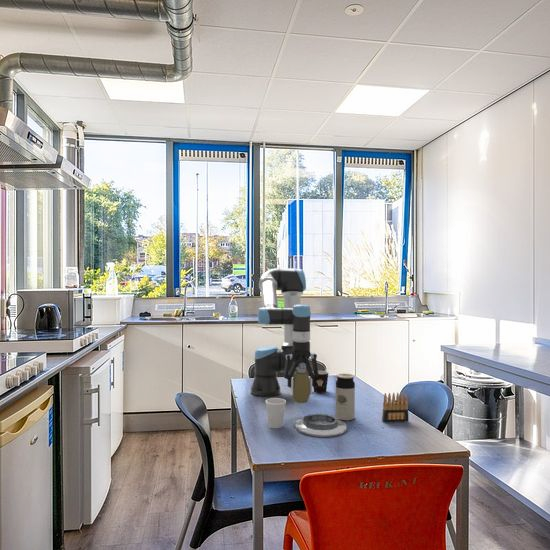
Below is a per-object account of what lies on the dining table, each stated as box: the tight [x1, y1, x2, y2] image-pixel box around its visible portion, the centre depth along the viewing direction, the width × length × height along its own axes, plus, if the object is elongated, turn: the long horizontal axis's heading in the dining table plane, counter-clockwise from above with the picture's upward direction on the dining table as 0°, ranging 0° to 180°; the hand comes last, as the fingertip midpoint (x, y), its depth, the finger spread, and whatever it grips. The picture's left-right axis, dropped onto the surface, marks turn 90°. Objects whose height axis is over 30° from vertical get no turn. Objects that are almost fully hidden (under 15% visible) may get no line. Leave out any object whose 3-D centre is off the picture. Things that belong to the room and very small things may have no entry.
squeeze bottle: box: [292, 363, 311, 404], centre depth 188 cm, size 8×8×18 cm
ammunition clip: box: [381, 392, 410, 423], centre depth 181 cm, size 11×2×12 cm, turn 97°
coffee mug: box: [312, 370, 329, 394], centre depth 229 cm, size 12×9×10 cm
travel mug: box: [335, 372, 356, 421], centre depth 185 cm, size 8×8×18 cm
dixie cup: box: [265, 397, 287, 429], centre depth 174 cm, size 8×8×10 cm
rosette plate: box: [294, 413, 347, 438], centre depth 172 cm, size 20×20×4 cm
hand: (300, 394), depth 188 cm, fingers closed on squeeze bottle, 8 cm apart
